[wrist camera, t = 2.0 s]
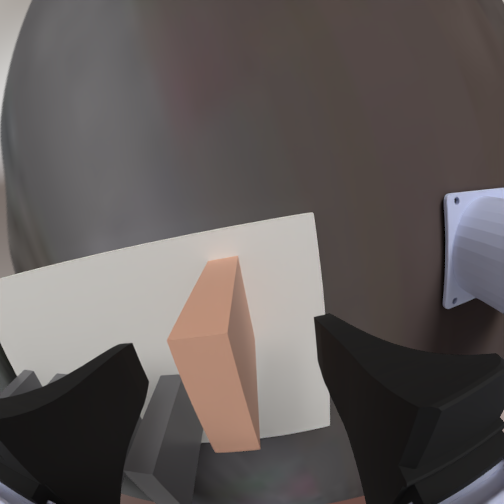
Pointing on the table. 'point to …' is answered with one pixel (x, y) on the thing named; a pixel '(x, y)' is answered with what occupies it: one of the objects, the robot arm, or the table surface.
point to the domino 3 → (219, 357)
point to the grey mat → (170, 306)
